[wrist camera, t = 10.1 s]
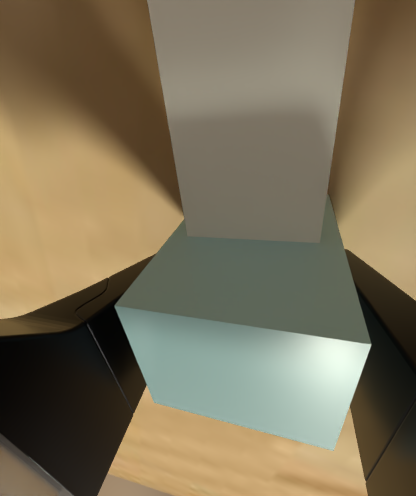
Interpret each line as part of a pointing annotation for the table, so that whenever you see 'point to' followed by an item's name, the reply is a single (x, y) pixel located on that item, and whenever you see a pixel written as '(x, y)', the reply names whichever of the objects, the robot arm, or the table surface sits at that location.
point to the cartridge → (252, 222)
